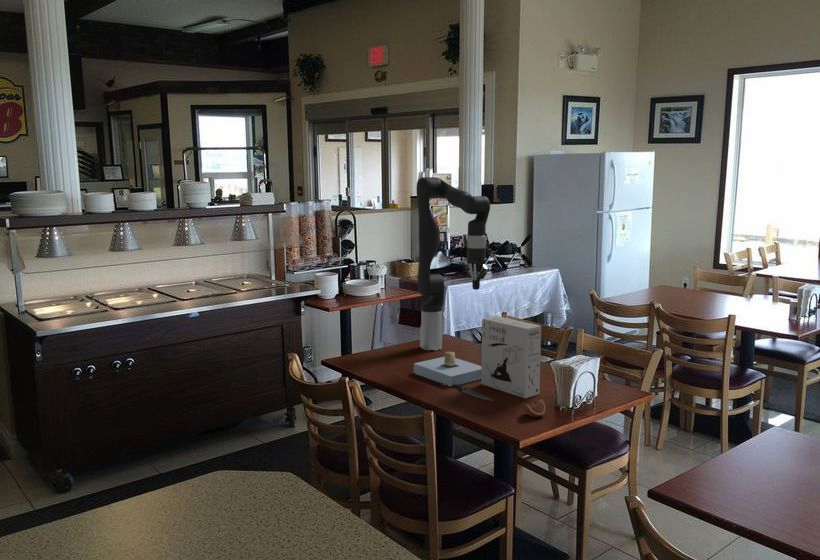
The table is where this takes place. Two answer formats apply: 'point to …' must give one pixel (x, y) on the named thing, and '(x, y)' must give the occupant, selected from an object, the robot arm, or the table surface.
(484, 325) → the cereal box
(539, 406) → the fruit slice
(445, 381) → the board
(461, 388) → the knife
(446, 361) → the peg
